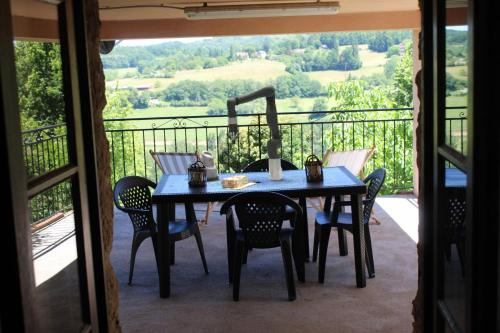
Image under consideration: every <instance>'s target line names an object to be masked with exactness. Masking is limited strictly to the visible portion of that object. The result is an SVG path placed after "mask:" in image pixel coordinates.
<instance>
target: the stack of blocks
mask: <svg viewBox="0 0 500 333" xmlns="http://www.w3.org/2000/svg"><path fill="white" fill-rule="evenodd" d="M247 183H249V177H248V175H246V174H244V175H242V174H238V175H234V176H231V177H224V178H221V188H226V187H227V188H237V187H241V186H244V184H247Z"/></svg>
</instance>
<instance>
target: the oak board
mask: <svg viewBox="0 0 500 333" xmlns="http://www.w3.org/2000/svg"><path fill="white" fill-rule="evenodd" d="M256 184H257V182H248V183H247V184H244V186H241V187H237V188H227V187H223V189H224V190H242V189H246V188H248V187H251V186H253V185H256Z"/></svg>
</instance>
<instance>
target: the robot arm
mask: <svg viewBox="0 0 500 333" xmlns="http://www.w3.org/2000/svg"><path fill="white" fill-rule="evenodd" d="M261 98H265V103H266V105H265V120H266V125H267V127H268V129H269V130H270V133H271V138H270V139H268V140H267V142H266V151H267V156H268V169H269V170H268V173H269V181H280V180H283V168H282V167H281V154H280V153H278V150H280V148H281V147H282V139H281V134H280V128H279V119H278V118H279V117H278V110H277V105H276V104H277V103H276V88H275V87H274V86H273V85H270V84H267V85H265V86H263V87H261V88H259V89H257V90H255V91H250V92H246V93H243V94H239V95H238V96H235V97H231V98H228V99H227V100H226V108H227V125H228V126H227V127H228V132H226V133H225V135H226V137H228V139H229V140H231V144H232V145H233V146H235V145H236V144H237V141H236V140H238V139H239V137H240V136H241V134H242V133H241V132H240V131H239V127H238V126H239V125H238V123H239V122H238V116H237V115H238V113H237V112H238V111H237V110H236V107H237V106H239V105H244V104H247V103H250V102H252V101H255V100H257V99H261Z"/></svg>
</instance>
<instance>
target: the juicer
mask: <svg viewBox="0 0 500 333" xmlns="http://www.w3.org/2000/svg"><path fill="white" fill-rule="evenodd" d="M214 158H215V157H214V154H213V153H212V152H210V150H209V151H208V150H202V151H201V154H199V162H198V163H199V165H200V166H201V167H203V165H204V166H205V167H206V170H207V182H206V183H215V182H219V181H222V178H219V177H220V176H219V175H218V169H217V166H216V165H215V159H214ZM200 161H201V162H203V164H202V163H201V162H200ZM192 164H193V163H189V165H188V169H189V168H190V167H191V165H192Z"/></svg>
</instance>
